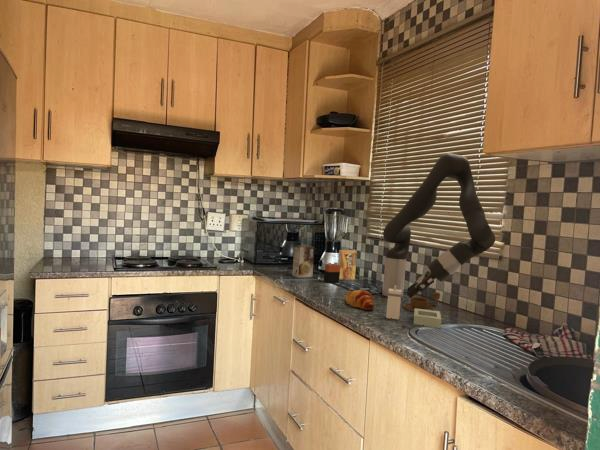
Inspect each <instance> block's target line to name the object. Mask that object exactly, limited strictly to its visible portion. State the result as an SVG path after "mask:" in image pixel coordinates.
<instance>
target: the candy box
mask: <svg viewBox="0 0 600 450" xmlns="http://www.w3.org/2000/svg"><path fill="white" fill-rule="evenodd" d="M357 256H358V251H357V250H353V249H350V250H349V249H339V251H338V258H337V259H338V261H337V263H338V265H340V277H339V280H353V281H354V280H355V278H356V267H357Z"/></svg>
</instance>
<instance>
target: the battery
mask: <svg viewBox="0 0 600 450" xmlns="http://www.w3.org/2000/svg"><path fill="white" fill-rule="evenodd" d="M323 276H324V277H323V278H324V279H323V282H325V283H327V284H339V283H340V279H339V277H340V265H338V262H333V263H332V262H328V263H325V264H324V274H323Z"/></svg>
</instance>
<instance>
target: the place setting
mask: <svg viewBox="0 0 600 450" xmlns="http://www.w3.org/2000/svg"><path fill="white" fill-rule="evenodd" d="M440 297H441V294H440V292H433V299H434V300H435V301H434V307H437V306H438V301H439V300H440ZM429 302H430V301H429V299H427V298H423V297H415V296H413V297H412V298H410V302H408V303H404V304H403V309H404V310H405V311H409V312H412V313H414V309H415V308H416V309H424V310H432V311H435V308H434V307H432V306H429ZM411 307H412V308H411Z"/></svg>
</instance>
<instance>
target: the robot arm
mask: <svg viewBox="0 0 600 450" xmlns="http://www.w3.org/2000/svg"><path fill="white" fill-rule="evenodd" d="M471 168H472V167H471V164H470V162H469V160H468V158H467V157H466V156H463V155H460V154H455V153H448V152H447V153H444V154H442V155H441V156H439V157H438V159H437V161H436V162H435V163H434V165H433V166H432V168H431V170H430V171H429V173H428V175H427V176H426V177H425V179H424V180H423V182H421V184H420V186H419V187H418V188H417V190H415V192H414V193H413V194H412V195H411V197H409V199H408V201H407V202H406V203H405V205H404V206H403V207H402V208H401V209H400V210H399V212H397V214H396V215H395V216H394V217H393V218H391V219H390V220H389V221H388V223H386V225H385V226H384V229H383V232H382V235H383V239H384V240H385V241H386V242H388V243H390V244H394V246H393V247H392V248H391V249H388V250H386V252H385V257H384V258H385V260H384V269H383V270H384V271H383V274H384V275H383V280H382V281H383V283H382V294H381V295H382V296H385V297H388V291H389V288H390V289H394V286H395V285H396V286H397V287H396V289H398V290H402V291H401V298H403V297H404V290H405V289H404V288H405V279H406V278H405V276H406V268H407V266H406V265H407V256H408V254H409V250H410V246H411V245H410V244H411V237H412V235H411V234H412V231H411V230H412V229H411V227H410V225H409V224H411V223H413V222H415V221H417V220H419V219H420V218H422V217H424V216H425V215H427V213H429V211H430V210H431V209H432V208H433V206H434V205H435V204H436V201H437V196H438V194H437V193H438V192H437V191H438V188H439V186H440V184H441V183H442V182H443V181H444V180H446V179H453V180H456V181H457V183H458V185H459V187H460V194H459V198H458V204H459V205H458V206H459V208H460V212H461V214H462V217H463V220H464V221H465V224H466V227H467V231H468V234H469V237H470V239H468V240H466V241H465V242H464V241H458V242H457V243H455V244H454V245H453V246H451V247H450V248H449V249H448V250H446V251H445V252H442V253H441V254H440V255H439V256H437V257H436V258H434V260H432V261H431V262H430V263H428V264H427V268H428V269H429V270H428V271H426V272H424V273H423V274H422V275H420V276H419V277H418V278H417V279H416V280H415V281H414V283H413V284H411V285H410V286H409V287H407V288H406V291H407V292H406V295H407V296H408V298H409V299H411V298H412V297H415V295H417V294H418V293H423V292H424V290H425V289H427V288H428V287H430V286H431V285H432V284H434V282H435V281H434V280H435V279H436V280H438V281H439V282H443V281H445V280H446V279H447V278H449V277H450V276H451V275H453V274H454V273H456V272H457V271H458V270H459V269H460V268H461V266H463V265H465V263H467V262H468V261H470V259H473V258H474V257H477V256H478V255H480V254H482V253H485V252H486V251H488V250H490V249H491V247H493V246H494V244H495V243H496V235H495V233H494V232H493V230H492V228H491V226H490V225H489V223H488V220H487V218H486V215H485V210H484V208H483V206H482V204H481V201H480V199H479V197H478V194H477V190H476V186H475V182H474V177H473V174H472V173H473V172H472V169H471Z"/></svg>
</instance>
